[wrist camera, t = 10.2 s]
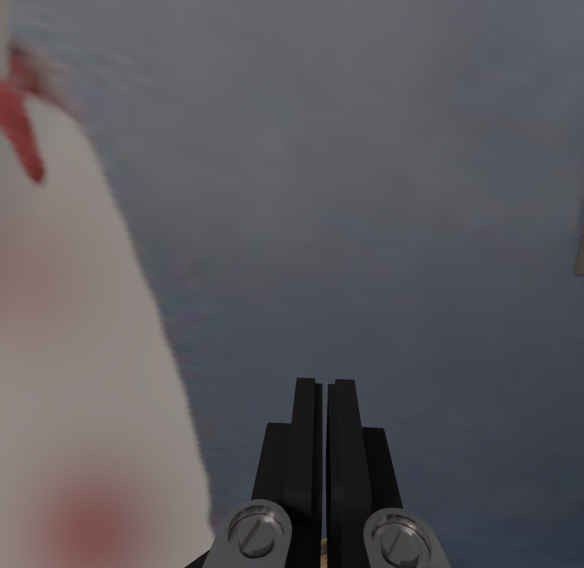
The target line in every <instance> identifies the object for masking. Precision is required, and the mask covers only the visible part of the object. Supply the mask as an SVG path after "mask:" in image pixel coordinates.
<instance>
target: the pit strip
mask: <svg viewBox="0 0 584 568" xmlns="http://www.w3.org/2000/svg"><path fill="white" fill-rule="evenodd" d="M573 274H581V275H584V234H582V238H581V242H580V247H579V251H578V255H577V260H576V264H575V268H574V272H573Z"/></svg>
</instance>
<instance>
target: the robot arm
mask: <svg viewBox="0 0 584 568" xmlns="http://www.w3.org/2000/svg"><path fill="white" fill-rule="evenodd" d="M322 486H323V462H322V384H318V383H315V378H297V381H296V389H295V397H294V406H293V414H292V422H291V424H287V423H268V424H267V428H266V433H265V437H264V442H263V447H262V451H261V456H260V461H259V465H258V470H257V475H256V479H255V484H254V489H253V493H252V498H251V500H250V501H246V502H244V503H242V504H240V505H238V506H236V507H235V508H234V509H233V510H231V511H230V512H229V513H228V514H227V516H226V518H225V519H224V521H223V522H222V524H221V527H220V529H219V531H218V533H217V536H216V538H215V540H214V542H213V545H212V547H211V549H210V550H209V551H207V552H206V553H205V554H203V555H202V556H200V557H199V558H197V559H196V560H195V561H193V562H192V563H190V564H189V565H188V566H186V567H185V568H320V567H321V531H322ZM326 527H327V568H451V566H450V564H449V562H448V560H447V557H446V555H445V553H444V551H443V549H442V547H441V545H440V543H439V540H438V538H437V537H436V535H435V533H434V532H433V530H432V529H431V527H430V526H429V525H428V524H427V523H426V522H425V521H424V520H423V519H422V518H420V517H418V516H417V515H415V514H413V513H412V512H409V511H406V510H403V507H402V502H401V498H400V494H399V490H398V486H397V481H396V477H395V473H394V469H393V465H392V460H391V456H390V452H389V448H388V444H387V439H386V435H385V432H384V429H383V428H370V427H362V426H361V420H360V413H359V407H358V400H357V394H356V387H355V381H354V380H344V379H336V380H335V384H328V405H327V439H326Z"/></svg>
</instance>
